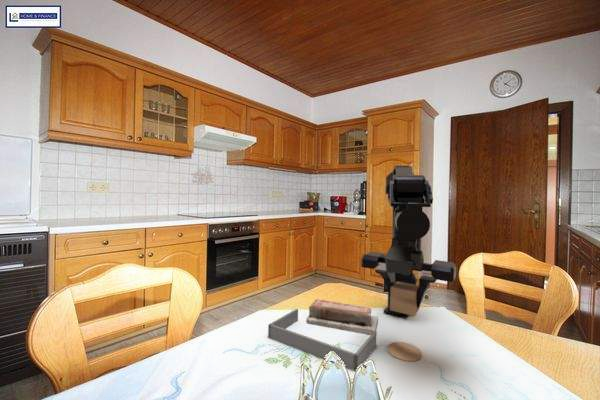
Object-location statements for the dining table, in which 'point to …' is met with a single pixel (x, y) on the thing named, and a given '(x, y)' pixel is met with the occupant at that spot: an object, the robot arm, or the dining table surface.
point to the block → (404, 298)
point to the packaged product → (342, 316)
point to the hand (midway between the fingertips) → (405, 304)
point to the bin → (317, 342)
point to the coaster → (404, 351)
